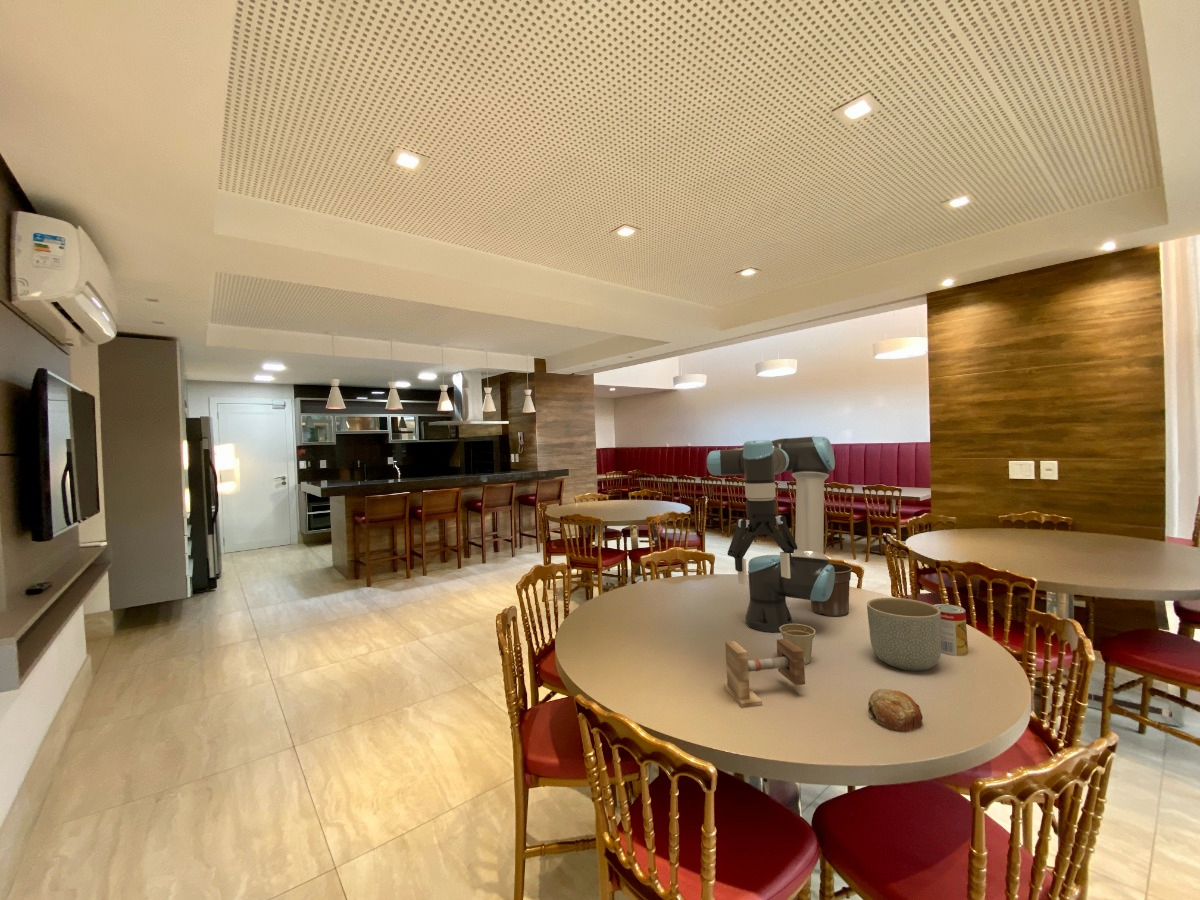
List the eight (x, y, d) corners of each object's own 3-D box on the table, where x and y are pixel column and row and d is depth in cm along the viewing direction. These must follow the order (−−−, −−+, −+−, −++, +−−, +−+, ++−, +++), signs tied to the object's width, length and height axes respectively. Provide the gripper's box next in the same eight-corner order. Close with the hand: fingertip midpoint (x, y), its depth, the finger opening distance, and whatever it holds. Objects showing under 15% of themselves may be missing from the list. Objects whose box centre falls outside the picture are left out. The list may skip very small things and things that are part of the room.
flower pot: (801, 670, 129) (799, 638, 129) (773, 658, 137) (772, 627, 137) (824, 662, 133) (822, 630, 133) (796, 650, 141) (795, 621, 141)
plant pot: (797, 606, 181) (794, 563, 182) (837, 603, 183) (834, 560, 183) (821, 620, 165) (818, 573, 165) (865, 616, 167) (862, 570, 167)
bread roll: (867, 724, 108) (851, 694, 108) (904, 701, 109) (888, 670, 109) (898, 751, 98) (880, 717, 98) (938, 725, 99) (921, 691, 99)
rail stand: (792, 679, 124) (790, 632, 124) (816, 697, 114) (813, 647, 114) (724, 687, 121) (721, 640, 121) (741, 707, 111) (739, 655, 111)
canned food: (969, 649, 137) (967, 607, 137) (966, 658, 131) (963, 614, 131) (936, 642, 142) (934, 602, 142) (931, 651, 136) (929, 609, 137)
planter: (880, 646, 142) (877, 594, 142) (949, 661, 130) (946, 604, 130) (861, 665, 130) (858, 608, 130) (936, 683, 118) (932, 621, 118)
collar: (787, 670, 123) (785, 638, 123) (805, 684, 115) (803, 650, 115) (778, 671, 122) (776, 639, 122) (795, 685, 114) (793, 651, 114)
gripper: (789, 495, 133) (793, 571, 133) (711, 501, 125) (715, 583, 124) (809, 496, 126) (813, 577, 125) (728, 503, 118) (732, 590, 117)
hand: (764, 580), depth 125 cm, fingers open, 13 cm apart
